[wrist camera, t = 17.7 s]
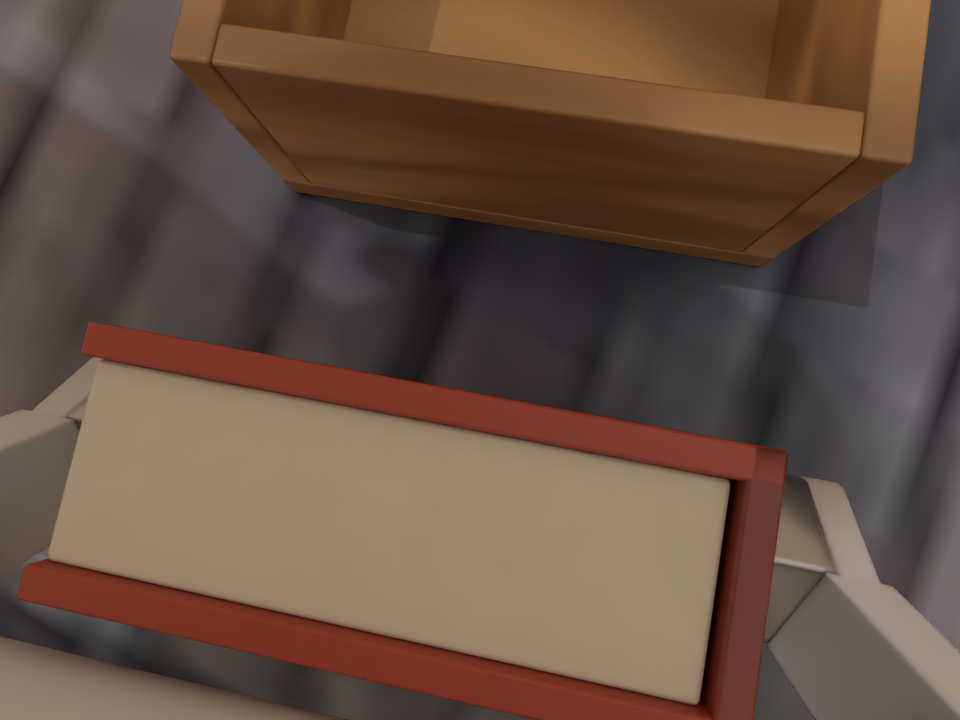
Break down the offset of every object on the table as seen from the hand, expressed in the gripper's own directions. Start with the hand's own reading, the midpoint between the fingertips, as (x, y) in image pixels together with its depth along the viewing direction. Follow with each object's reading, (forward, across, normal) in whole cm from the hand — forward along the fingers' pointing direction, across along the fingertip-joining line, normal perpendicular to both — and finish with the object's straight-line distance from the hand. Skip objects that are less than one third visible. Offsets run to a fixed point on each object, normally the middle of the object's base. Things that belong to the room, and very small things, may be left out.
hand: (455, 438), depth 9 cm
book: (+4, 0, +5) cm, 6 cm away
